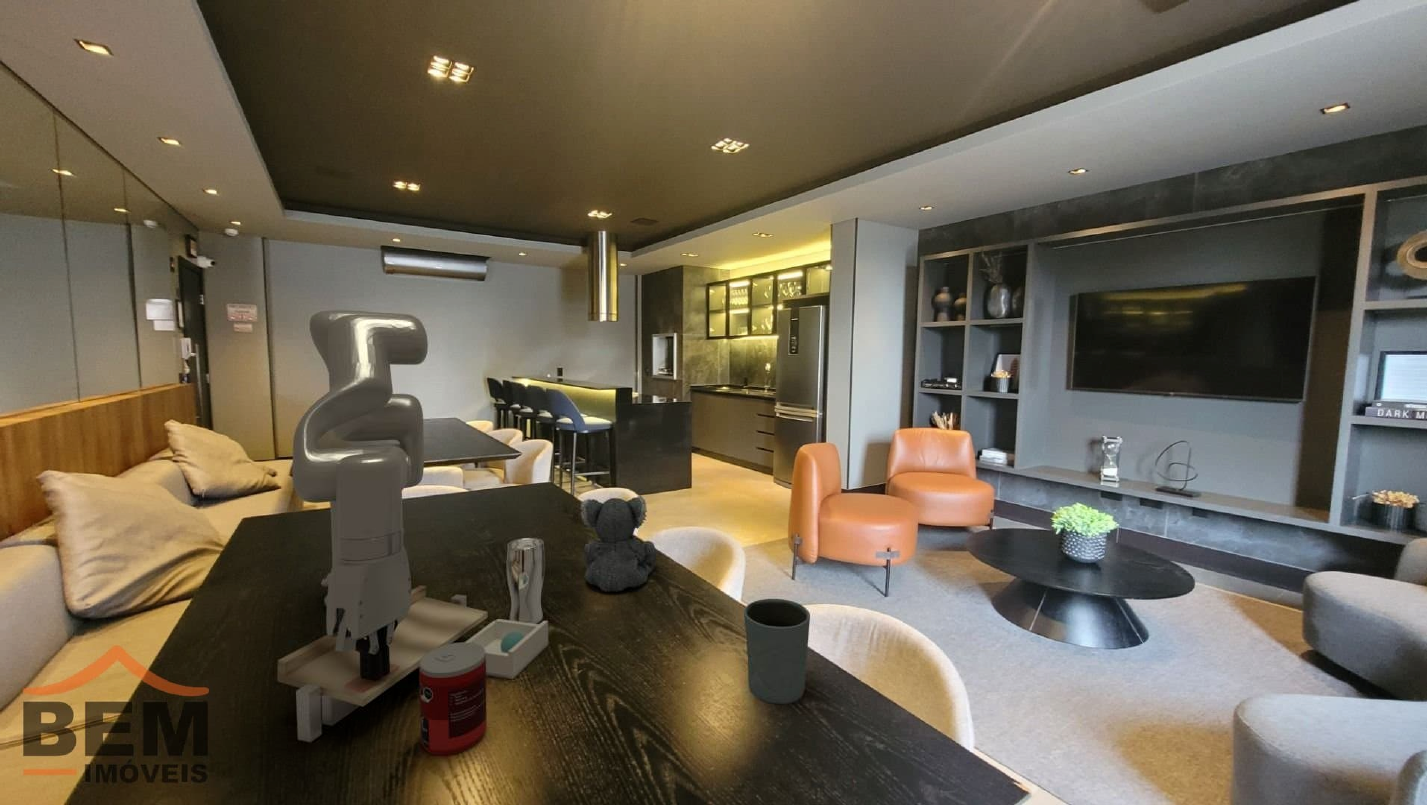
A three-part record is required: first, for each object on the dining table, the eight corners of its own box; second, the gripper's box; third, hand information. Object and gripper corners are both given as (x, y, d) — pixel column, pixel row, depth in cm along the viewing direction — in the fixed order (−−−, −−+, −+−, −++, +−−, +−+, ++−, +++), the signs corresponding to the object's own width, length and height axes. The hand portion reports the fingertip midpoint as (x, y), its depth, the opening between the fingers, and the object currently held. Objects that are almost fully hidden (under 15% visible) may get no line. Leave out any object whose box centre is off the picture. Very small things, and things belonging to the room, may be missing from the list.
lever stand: (457, 629, 101) (456, 594, 100) (466, 630, 100) (466, 595, 100) (297, 739, 71) (296, 690, 71) (310, 742, 71) (308, 693, 70)
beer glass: (533, 630, 101) (532, 550, 100) (499, 625, 103) (498, 547, 101) (551, 613, 108) (551, 539, 107) (519, 609, 109) (519, 536, 108)
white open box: (453, 669, 88) (453, 643, 87) (494, 637, 98) (494, 613, 98) (513, 679, 85) (512, 652, 85) (548, 645, 96) (547, 621, 95)
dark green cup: (791, 715, 78) (794, 634, 77) (730, 692, 83) (731, 615, 82) (817, 681, 86) (820, 607, 85) (760, 661, 92) (762, 592, 91)
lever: (420, 603, 100) (421, 584, 100) (487, 619, 97) (489, 600, 97) (275, 685, 74) (276, 661, 74) (361, 710, 71) (362, 685, 71)
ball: (521, 648, 89) (511, 667, 89) (534, 636, 92) (524, 654, 93) (501, 634, 89) (491, 653, 90) (515, 622, 93) (506, 641, 94)
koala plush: (657, 565, 135) (658, 487, 133) (651, 596, 117) (652, 506, 116) (587, 564, 134) (587, 486, 133) (570, 595, 116) (569, 505, 115)
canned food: (435, 718, 76) (433, 642, 75) (494, 716, 76) (493, 640, 76) (409, 758, 68) (407, 673, 67) (475, 755, 69) (474, 671, 68)
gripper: (391, 527, 82) (394, 646, 83) (295, 561, 68) (301, 704, 69) (434, 531, 81) (437, 652, 82) (346, 566, 66) (350, 713, 67)
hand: (375, 675), depth 75 cm, fingers closed
